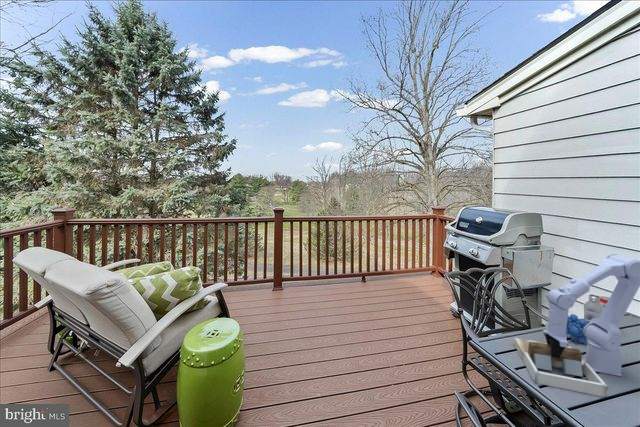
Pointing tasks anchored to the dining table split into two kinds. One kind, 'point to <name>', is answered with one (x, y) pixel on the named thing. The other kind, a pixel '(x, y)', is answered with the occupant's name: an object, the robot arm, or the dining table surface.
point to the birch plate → (523, 347)
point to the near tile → (572, 367)
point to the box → (568, 379)
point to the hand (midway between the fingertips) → (553, 354)
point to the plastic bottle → (592, 308)
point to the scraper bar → (546, 350)
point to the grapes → (576, 328)
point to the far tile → (542, 361)
